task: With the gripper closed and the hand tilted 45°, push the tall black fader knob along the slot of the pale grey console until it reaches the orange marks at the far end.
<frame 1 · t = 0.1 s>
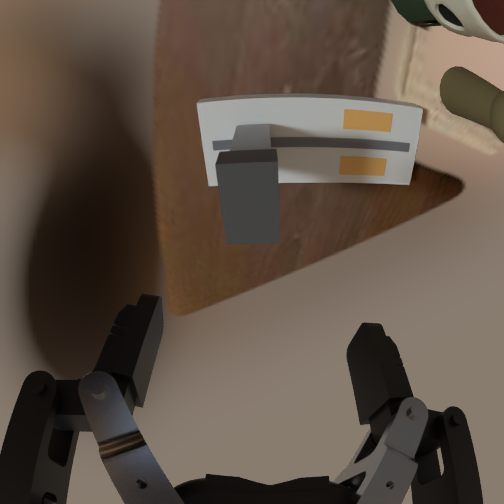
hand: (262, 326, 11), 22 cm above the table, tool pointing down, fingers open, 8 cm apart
fader console: (313, 135, 28), on the table
cork: (459, 90, 22), on the table
fader knob: (252, 168, 22), point 8 cm above the table, slide at 0.0 cm
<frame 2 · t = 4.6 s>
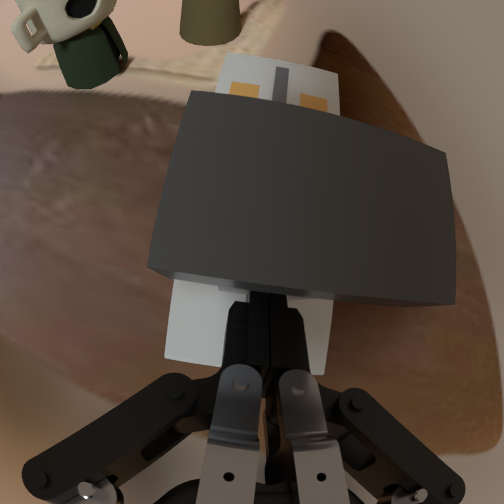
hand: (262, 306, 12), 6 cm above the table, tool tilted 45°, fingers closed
fader console: (265, 192, 19), on the table
cork: (210, 30, 22), on the table
character mug: (98, 71, 20), on the table
fader knob: (279, 249, 10), point 8 cm above the table, slide at 0.6 cm, touching gripper
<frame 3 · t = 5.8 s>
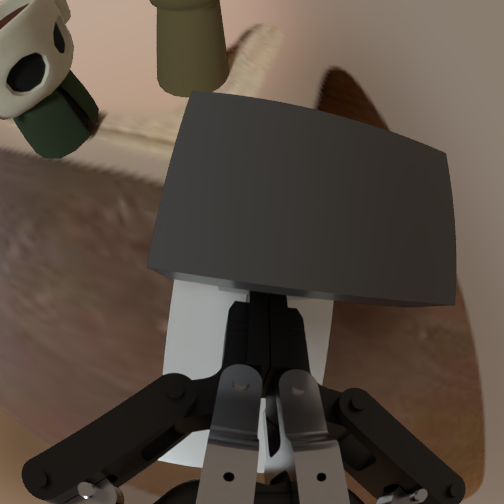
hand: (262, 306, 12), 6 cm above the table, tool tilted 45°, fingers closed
fader console: (252, 297, 18), on the table
cork: (193, 73, 21), on the table
character mug: (68, 130, 19), on the table
fader knob: (279, 249, 10), point 8 cm above the table, slide at 7.5 cm, touching gripper
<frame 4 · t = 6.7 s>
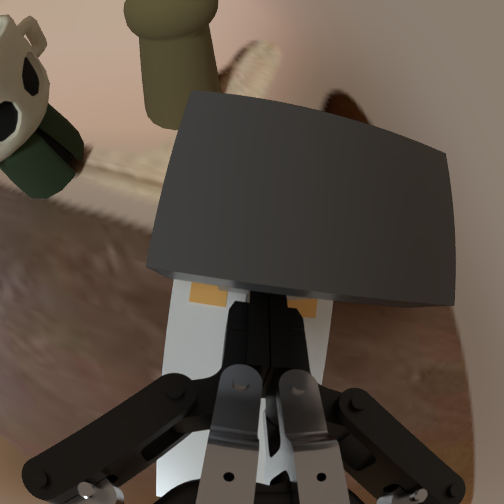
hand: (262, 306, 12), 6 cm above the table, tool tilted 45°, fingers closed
fader console: (244, 350, 17), on the table
cork: (183, 100, 20), on the table
character mug: (54, 165, 18), on the table
fader knob: (278, 248, 10), point 8 cm above the table, slide at 10.8 cm, touching gripper
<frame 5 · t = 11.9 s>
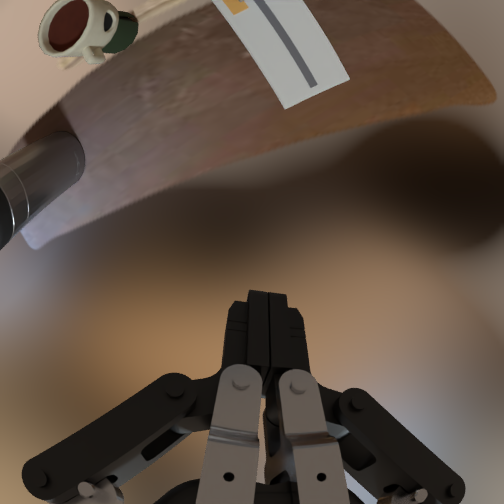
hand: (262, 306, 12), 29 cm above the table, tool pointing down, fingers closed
fader console: (270, 21, 27), on the table
character mug: (119, 33, 27), on the table
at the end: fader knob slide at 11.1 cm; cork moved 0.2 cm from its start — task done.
